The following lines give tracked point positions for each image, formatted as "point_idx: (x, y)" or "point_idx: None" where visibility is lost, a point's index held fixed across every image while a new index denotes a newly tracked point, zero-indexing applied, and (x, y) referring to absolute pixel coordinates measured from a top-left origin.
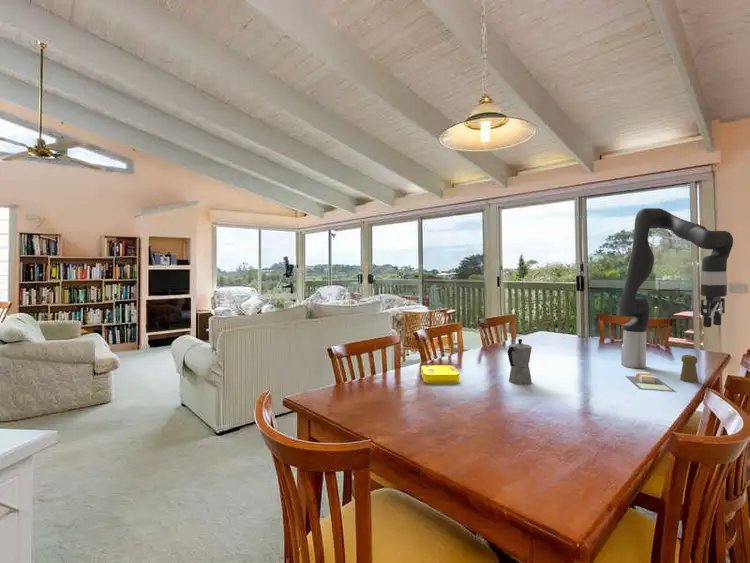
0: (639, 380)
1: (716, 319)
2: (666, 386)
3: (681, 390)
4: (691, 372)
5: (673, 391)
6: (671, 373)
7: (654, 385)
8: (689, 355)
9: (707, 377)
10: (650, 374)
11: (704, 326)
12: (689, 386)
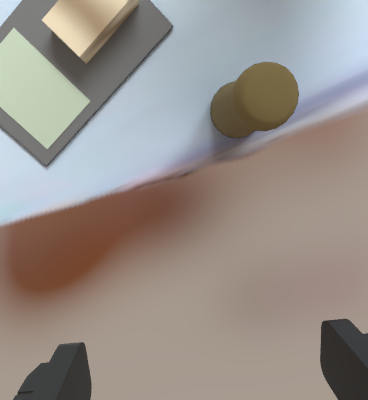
0: None
1: (359, 394)
2: (78, 113)
3: (95, 156)
4: (229, 122)
5: (41, 157)
6: (315, 6)
7: (50, 84)
8: (267, 96)
9: (360, 111)
10: (106, 22)
11: (61, 350)
12: (171, 143)
